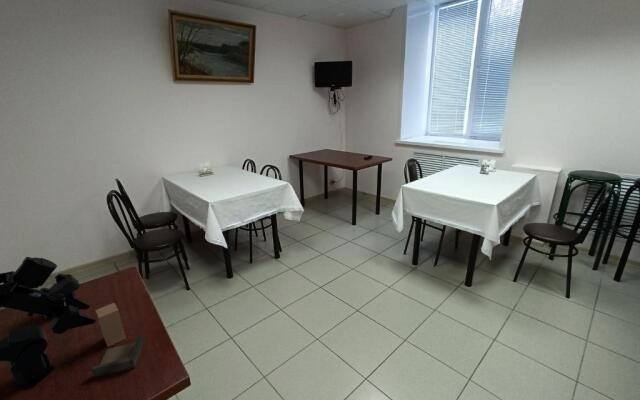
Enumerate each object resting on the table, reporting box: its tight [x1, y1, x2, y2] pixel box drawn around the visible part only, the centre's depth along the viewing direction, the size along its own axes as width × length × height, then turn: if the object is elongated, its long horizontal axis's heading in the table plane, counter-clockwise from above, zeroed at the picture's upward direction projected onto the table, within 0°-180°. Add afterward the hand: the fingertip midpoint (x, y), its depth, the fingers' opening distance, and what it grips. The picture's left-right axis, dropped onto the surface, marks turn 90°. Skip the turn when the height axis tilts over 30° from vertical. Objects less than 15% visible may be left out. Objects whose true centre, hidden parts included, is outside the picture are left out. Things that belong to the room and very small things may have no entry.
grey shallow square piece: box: [91, 334, 144, 378], centre depth 87 cm, size 10×10×3 cm
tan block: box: [95, 302, 127, 348], centre depth 93 cm, size 5×5×11 cm
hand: (91, 314), depth 89 cm, fingers open, 9 cm apart
